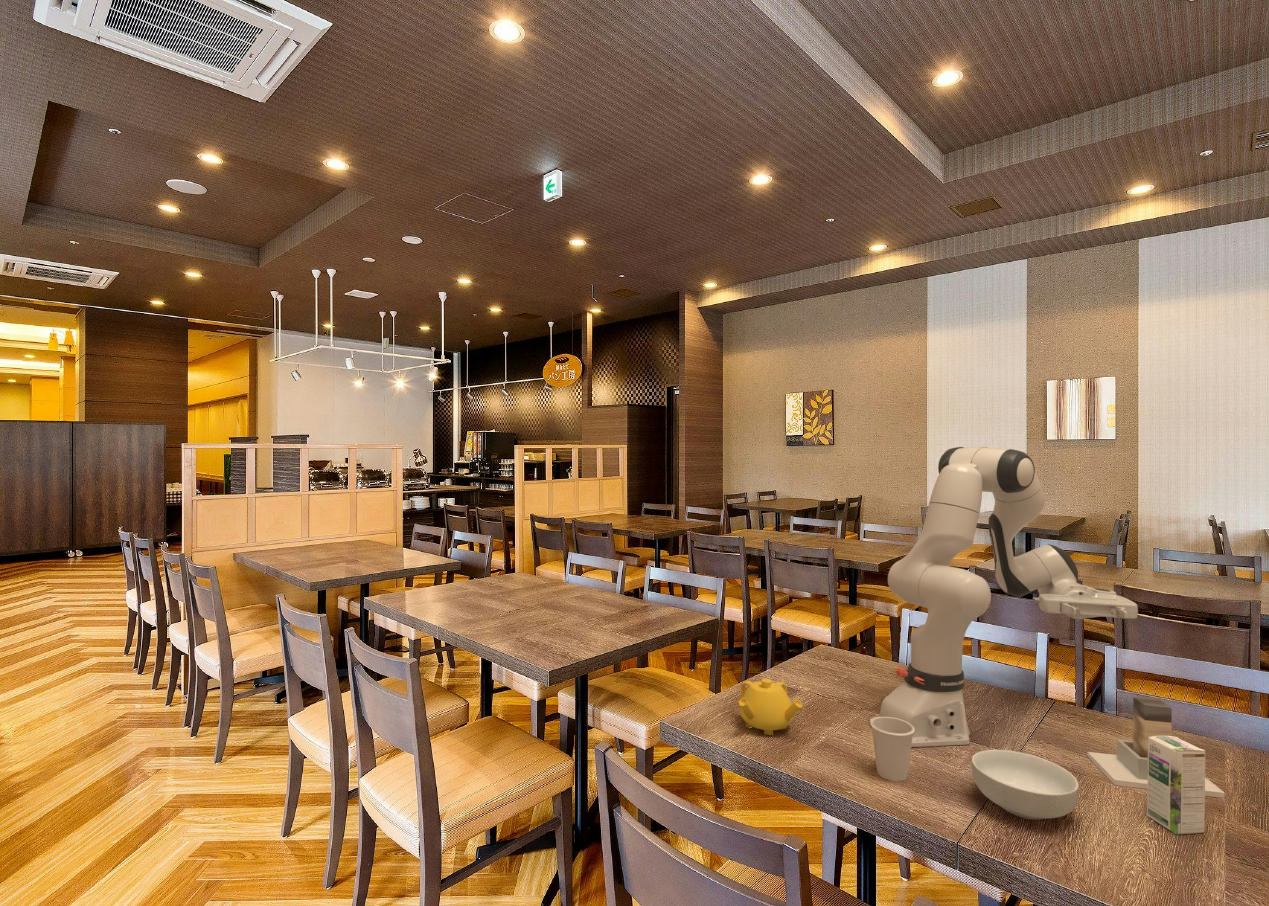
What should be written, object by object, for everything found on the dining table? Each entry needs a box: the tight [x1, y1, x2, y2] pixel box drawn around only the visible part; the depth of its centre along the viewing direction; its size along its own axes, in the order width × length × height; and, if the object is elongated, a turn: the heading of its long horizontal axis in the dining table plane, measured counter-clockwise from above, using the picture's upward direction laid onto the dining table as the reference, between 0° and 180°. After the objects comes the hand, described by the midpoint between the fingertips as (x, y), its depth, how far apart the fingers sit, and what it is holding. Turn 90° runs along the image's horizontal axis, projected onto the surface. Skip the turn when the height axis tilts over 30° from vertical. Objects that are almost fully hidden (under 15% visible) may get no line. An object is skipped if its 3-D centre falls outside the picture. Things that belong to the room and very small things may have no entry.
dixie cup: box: [869, 716, 915, 782], centre depth 127 cm, size 8×8×10 cm
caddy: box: [1087, 739, 1226, 799], centre depth 126 cm, size 12×18×5 cm, turn 75°
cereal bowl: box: [970, 749, 1080, 821], centre depth 115 cm, size 17×17×7 cm
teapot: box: [738, 678, 804, 736], centre depth 148 cm, size 14×14×11 cm
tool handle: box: [1132, 696, 1173, 758], centre depth 126 cm, size 4×4×14 cm
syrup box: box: [1146, 735, 1206, 835], centre depth 110 cm, size 6×6×14 cm
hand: (1100, 613), depth 148 cm, fingers open, 8 cm apart
